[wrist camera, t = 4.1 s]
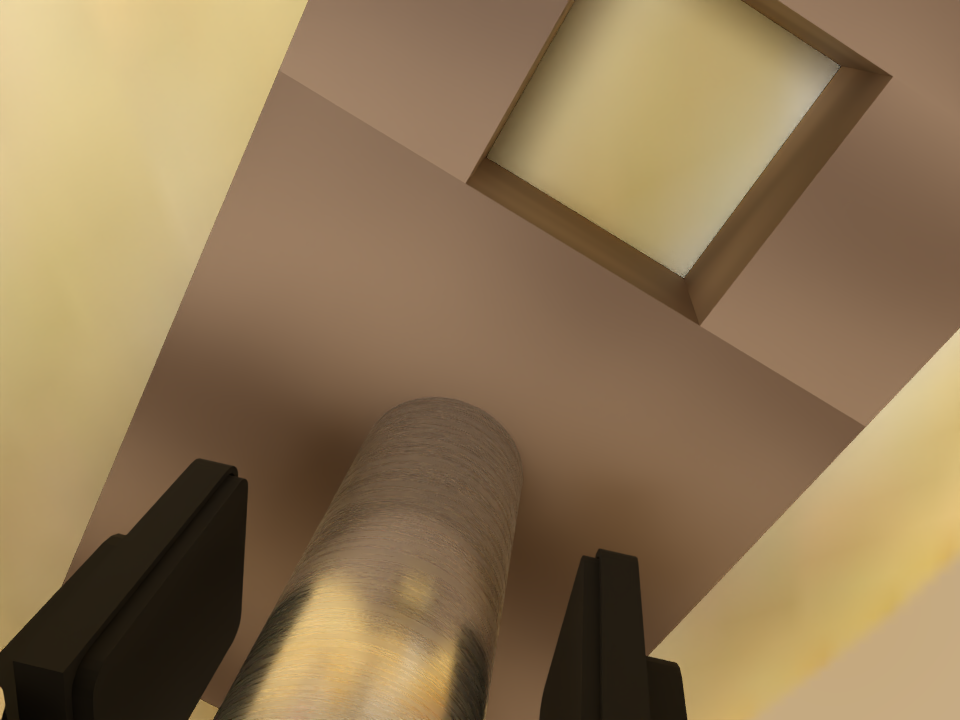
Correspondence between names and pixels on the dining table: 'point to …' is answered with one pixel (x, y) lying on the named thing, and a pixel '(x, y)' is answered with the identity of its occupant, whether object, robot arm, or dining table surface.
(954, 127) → the hole board
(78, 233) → the dining table surface
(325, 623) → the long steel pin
